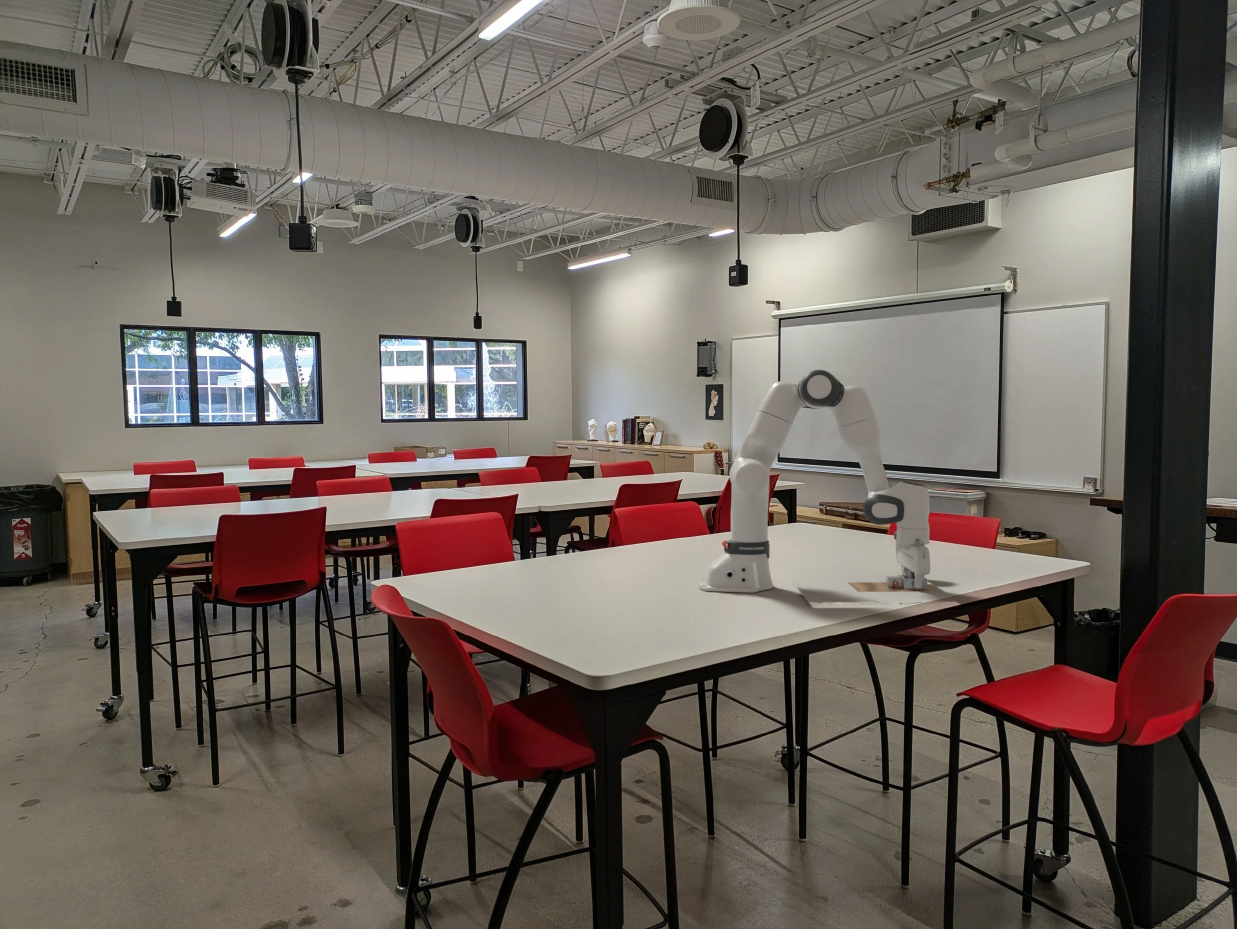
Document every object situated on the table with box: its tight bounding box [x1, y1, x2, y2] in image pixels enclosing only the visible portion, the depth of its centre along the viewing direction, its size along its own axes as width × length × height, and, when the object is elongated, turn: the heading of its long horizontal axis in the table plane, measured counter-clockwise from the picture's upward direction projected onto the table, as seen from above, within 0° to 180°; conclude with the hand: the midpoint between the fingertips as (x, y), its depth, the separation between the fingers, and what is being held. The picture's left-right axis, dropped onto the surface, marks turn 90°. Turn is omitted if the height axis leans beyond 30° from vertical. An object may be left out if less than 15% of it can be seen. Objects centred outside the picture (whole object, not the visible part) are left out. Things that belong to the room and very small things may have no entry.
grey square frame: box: [885, 574, 928, 590], centre depth 235 cm, size 10×6×3 cm, turn 86°
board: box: [847, 572, 937, 593], centre depth 236 cm, size 22×13×6 cm, turn 87°
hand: (912, 584), depth 235 cm, fingers open, 8 cm apart
